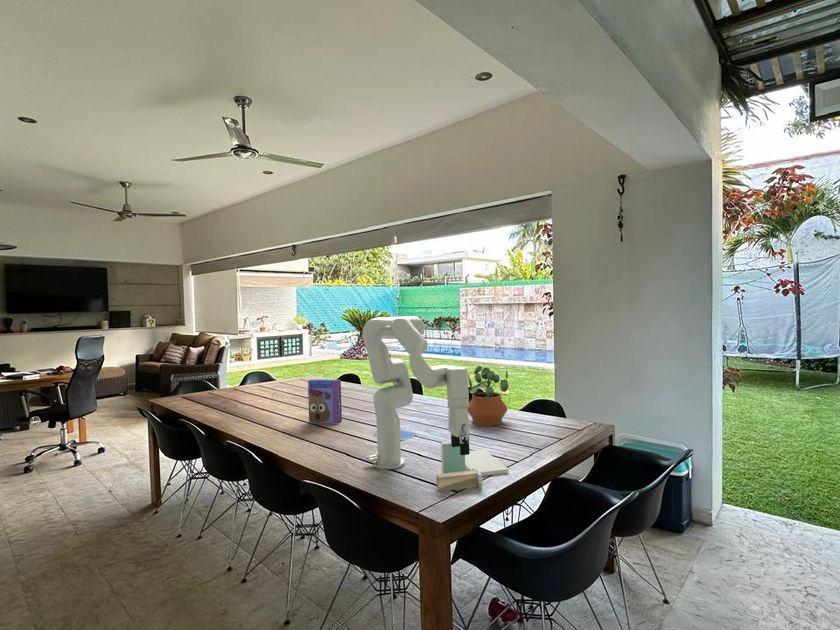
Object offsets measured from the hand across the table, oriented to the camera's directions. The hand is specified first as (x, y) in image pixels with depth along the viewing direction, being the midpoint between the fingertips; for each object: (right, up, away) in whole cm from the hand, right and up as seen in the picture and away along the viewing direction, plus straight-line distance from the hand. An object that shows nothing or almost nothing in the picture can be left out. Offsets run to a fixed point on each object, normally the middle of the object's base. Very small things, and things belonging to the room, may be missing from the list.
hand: (460, 450), depth 157 cm
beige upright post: (0, -13, +1) cm, 13 cm away
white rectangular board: (+10, -12, +23) cm, 28 cm away
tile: (-1, -13, +14) cm, 19 cm away
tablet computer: (-27, -13, +66) cm, 73 cm away
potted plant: (+21, -11, +83) cm, 86 cm away
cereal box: (-67, -13, +93) cm, 116 cm away
